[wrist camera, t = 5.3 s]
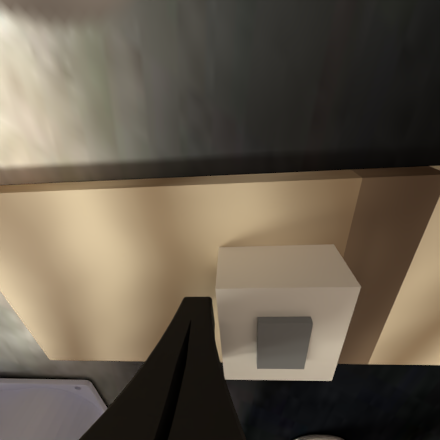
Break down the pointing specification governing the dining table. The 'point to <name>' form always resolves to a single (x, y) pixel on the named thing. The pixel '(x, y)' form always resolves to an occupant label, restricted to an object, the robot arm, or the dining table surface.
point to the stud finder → (283, 311)
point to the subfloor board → (208, 254)
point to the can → (319, 437)
